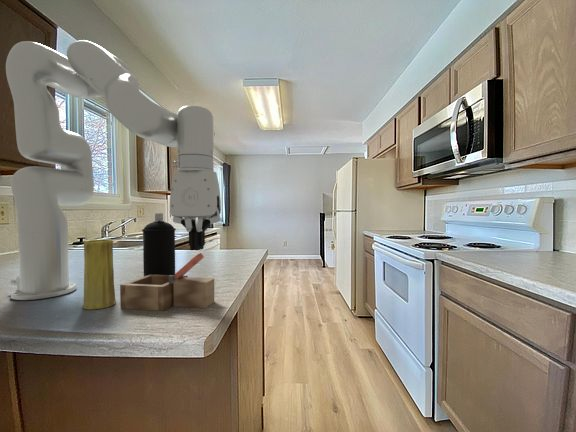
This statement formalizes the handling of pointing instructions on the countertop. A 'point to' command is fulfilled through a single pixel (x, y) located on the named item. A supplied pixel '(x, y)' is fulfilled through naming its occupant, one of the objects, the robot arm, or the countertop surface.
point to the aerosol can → (159, 247)
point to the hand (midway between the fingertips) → (197, 249)
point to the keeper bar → (188, 266)
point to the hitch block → (166, 292)
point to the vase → (98, 274)
